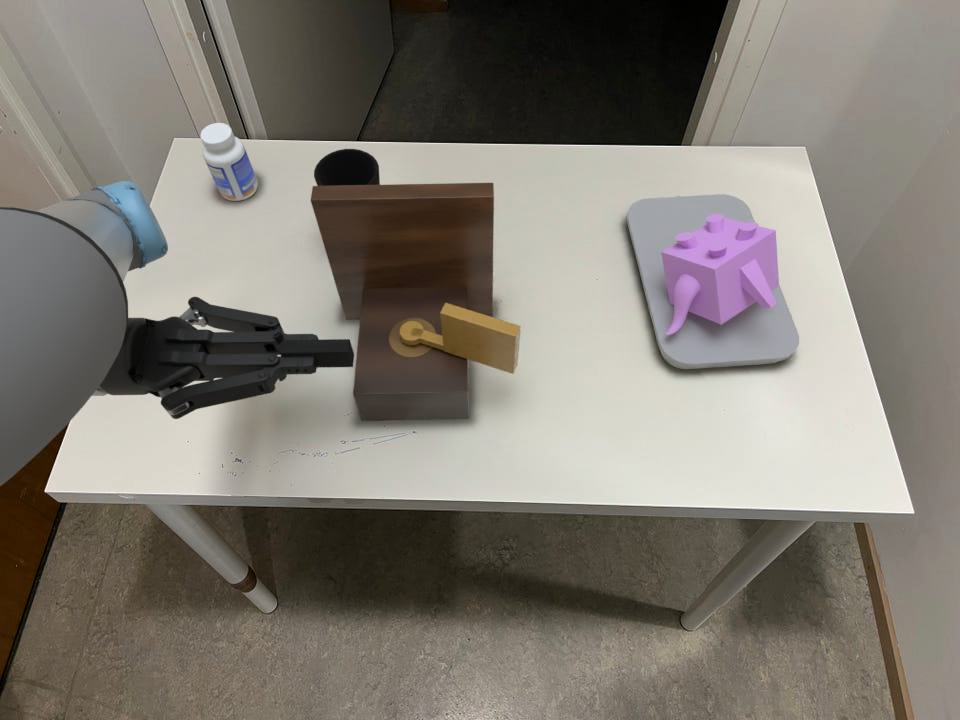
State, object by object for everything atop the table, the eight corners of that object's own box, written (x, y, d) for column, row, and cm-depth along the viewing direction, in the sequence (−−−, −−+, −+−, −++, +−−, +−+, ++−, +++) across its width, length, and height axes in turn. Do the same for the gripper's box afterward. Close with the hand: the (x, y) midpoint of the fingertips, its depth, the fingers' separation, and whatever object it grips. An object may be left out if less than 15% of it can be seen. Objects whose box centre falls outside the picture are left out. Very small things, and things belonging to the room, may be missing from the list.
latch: (519, 359, 73) (522, 320, 67) (511, 379, 72) (513, 341, 66) (406, 323, 76) (399, 282, 70) (396, 341, 74) (388, 301, 68)
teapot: (830, 208, 72) (830, 286, 77) (731, 188, 82) (738, 258, 88) (707, 288, 67) (717, 366, 72) (618, 256, 77) (633, 326, 82)
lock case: (495, 418, 76) (498, 312, 59) (335, 421, 76) (291, 316, 59) (492, 303, 85) (493, 182, 68) (347, 306, 85) (312, 185, 68)
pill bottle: (255, 171, 98) (234, 114, 90) (261, 197, 95) (240, 140, 87) (217, 180, 97) (192, 123, 89) (222, 206, 94) (196, 150, 86)
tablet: (738, 205, 93) (743, 192, 91) (799, 366, 79) (807, 356, 77) (620, 212, 93) (623, 199, 91) (661, 375, 79) (665, 365, 77)
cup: (333, 220, 93) (314, 150, 82) (389, 216, 93) (377, 145, 83) (332, 264, 88) (313, 196, 78) (391, 259, 89) (379, 190, 79)
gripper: (67, 396, 60) (337, 392, 60) (109, 279, 67) (350, 276, 67) (107, 434, 66) (351, 430, 66) (141, 324, 73) (362, 321, 73)
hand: (351, 353), depth 66 cm, fingers closed
